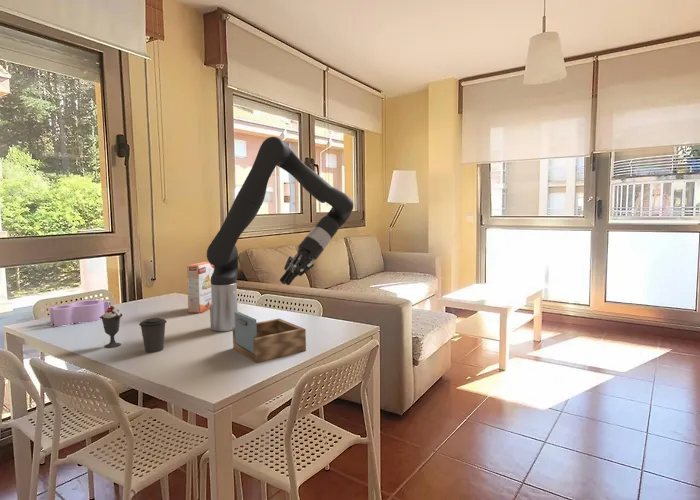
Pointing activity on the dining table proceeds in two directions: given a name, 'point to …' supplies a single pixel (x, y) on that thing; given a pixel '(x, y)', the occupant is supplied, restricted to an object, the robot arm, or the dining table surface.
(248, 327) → the flat rectangular panel
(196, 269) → the cracker box
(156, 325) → the coffee cup
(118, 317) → the sundae
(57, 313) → the purple double bowl
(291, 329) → the open wooden box
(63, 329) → the dining table surface
